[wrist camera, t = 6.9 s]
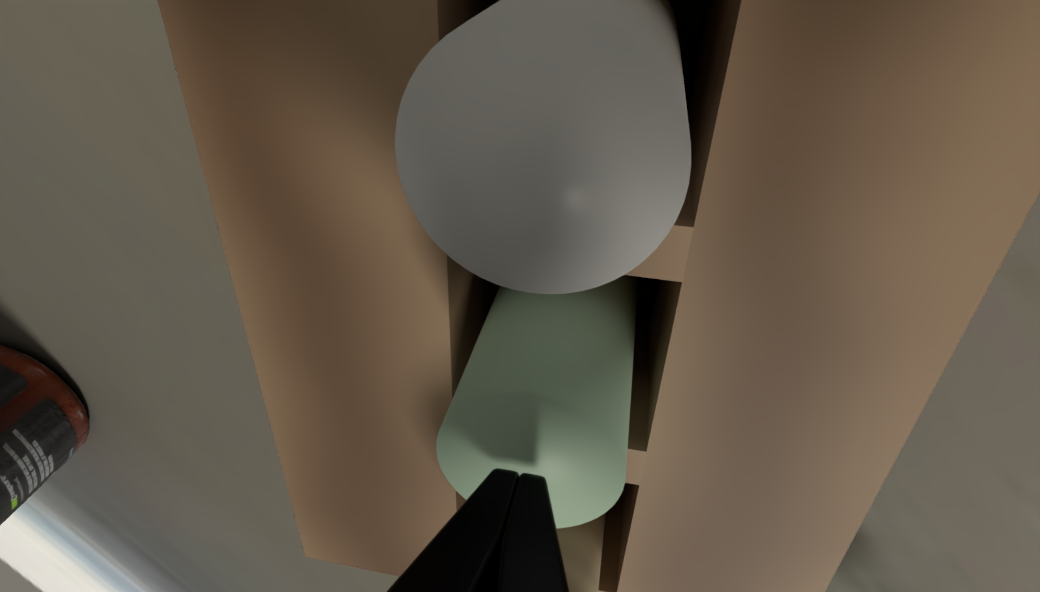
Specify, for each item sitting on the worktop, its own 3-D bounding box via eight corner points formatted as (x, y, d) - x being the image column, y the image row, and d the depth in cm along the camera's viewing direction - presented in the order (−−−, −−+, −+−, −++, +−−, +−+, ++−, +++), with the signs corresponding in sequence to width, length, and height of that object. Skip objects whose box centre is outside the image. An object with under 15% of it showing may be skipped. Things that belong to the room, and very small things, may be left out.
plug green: (647, 230, 14) (638, 410, 9) (629, 341, 16) (613, 543, 11) (510, 214, 14) (431, 378, 10) (507, 323, 16) (439, 510, 11)
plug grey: (693, -41, 10) (721, 17, 5) (663, 142, 12) (664, 311, 7) (509, -50, 11) (381, -5, 6) (505, 127, 13) (405, 276, 8)
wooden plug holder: (1023, -159, 11) (1247, -195, 7) (764, 505, 21) (789, 657, 17) (282, -177, 13) (101, -213, 9) (370, 436, 23) (305, 557, 19)
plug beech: (616, 425, 16) (597, 651, 12) (603, 502, 18) (582, 727, 13) (500, 406, 17) (433, 615, 12) (498, 483, 19) (439, 694, 14)
